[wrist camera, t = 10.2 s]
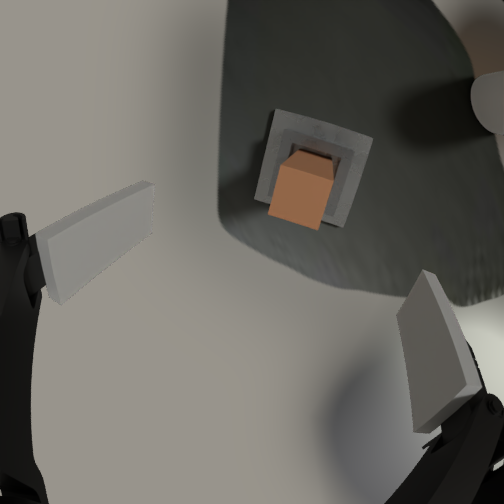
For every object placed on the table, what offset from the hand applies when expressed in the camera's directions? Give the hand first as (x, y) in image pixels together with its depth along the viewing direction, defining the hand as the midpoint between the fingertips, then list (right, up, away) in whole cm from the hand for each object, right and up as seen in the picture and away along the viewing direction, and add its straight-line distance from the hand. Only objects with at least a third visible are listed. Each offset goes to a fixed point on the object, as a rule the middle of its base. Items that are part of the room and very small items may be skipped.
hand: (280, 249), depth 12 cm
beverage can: (+30, +19, +10) cm, 37 cm away
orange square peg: (+6, +10, +20) cm, 23 cm away
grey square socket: (+6, +10, +21) cm, 24 cm away
